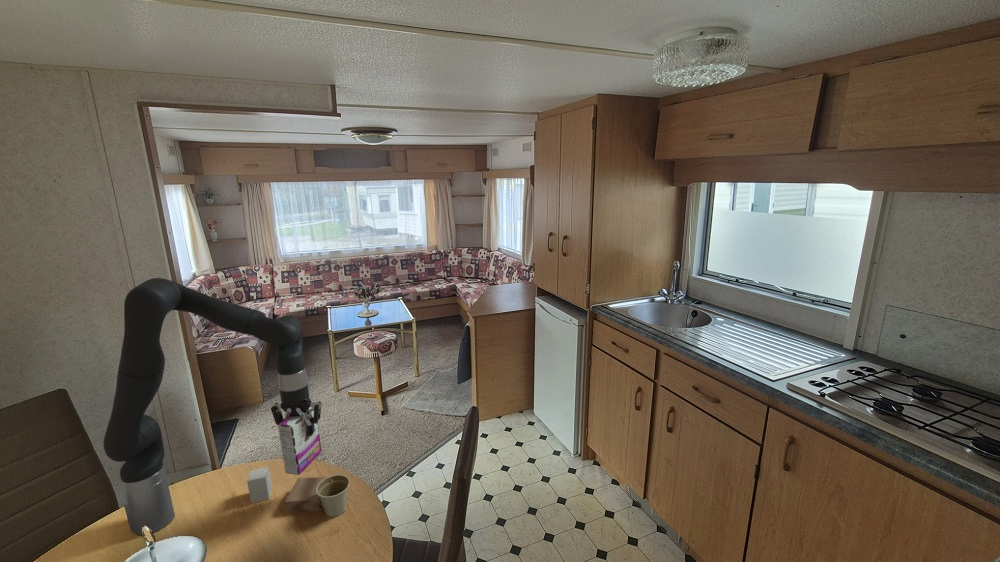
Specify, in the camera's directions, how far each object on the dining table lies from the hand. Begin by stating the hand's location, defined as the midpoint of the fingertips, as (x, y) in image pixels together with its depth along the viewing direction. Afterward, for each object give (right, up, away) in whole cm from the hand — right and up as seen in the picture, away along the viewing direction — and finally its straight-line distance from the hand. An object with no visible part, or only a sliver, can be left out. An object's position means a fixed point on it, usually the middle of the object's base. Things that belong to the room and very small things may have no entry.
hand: (300, 434), depth 125 cm
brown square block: (0, -22, +6) cm, 23 cm away
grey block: (-16, -22, +7) cm, 28 cm away
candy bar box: (0, -9, +2) cm, 10 cm away
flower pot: (+10, -23, +2) cm, 26 cm away
